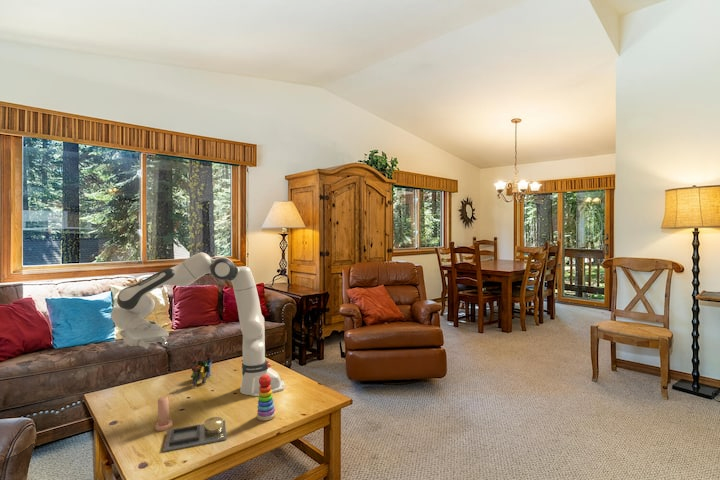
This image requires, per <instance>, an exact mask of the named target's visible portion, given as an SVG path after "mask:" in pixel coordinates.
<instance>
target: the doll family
mask: <svg viewBox="0 0 720 480" xmlns="http://www.w3.org/2000/svg"><path fill="white" fill-rule="evenodd" d="M213 355H214V353H212V352H207V353H206V357H207V359H206V361H205V360H197V365H192V367H191V371H192V374H191V375H190V378H192V385H191V389H197V388H198V382H201V383H200V386H205V385H206V384H207V383H208V381H207V379H208V378H210V377H211V376H212V371H211V369H212V363H213V362H214V361H213V359H212V357H213Z"/></svg>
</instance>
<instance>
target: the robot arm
mask: <svg viewBox="0 0 720 480" xmlns="http://www.w3.org/2000/svg"><path fill="white" fill-rule="evenodd" d="M207 274H211V275H212V276H213V277H214V278H215V279H217V280H218V281H219V280H220V281H231V284H232V289H233V293H234V298H235V303H236V306H237V312H238V313H237V315H238V320H239V325H240V330H241V333H242V348H241V349H242V363H241V374H242V376H241V377H242V378H241V385H240V389H239V392H240V393H241V394H243V395H246V396H252V397H259V392H260V390H259V387H260V386H261V385H260V384H259V378H260V377H261V376H262V375H268V376H270V378H271V382H270V384H269V385H270V386H271V390H272V394H273V393H277V392H280V391H284V390H285V389H286V384H285V382H284V380H282V379H281V375H280V374H279V372H278V371H276V370H274V369H273V368H271V367H272V364H271V363H270V361H268V360H267V359H266V344H265V341H266V337H265V335H266V334H265V333H266V331H265V328H266V327H265V322H266V321H265V317H264V315H263V314H262V309H261V304H260V303H261V302H260V297H259V294H258V289H257V285H256V280H255V277H254V275H253V273H252V270H251V268H250V267H248V266H244V265H243V266H241V265H240V266H236V265H235V264H234V262H233V261H232V259H230V258H228V257H226V256H220V257H211V256H210V255H209V254H207V253H205V252H203V251H202V252H201V251H200V252H198V253H195V254H194V255H191V256H190V257H188V258H186V259H185V260H183V261H182V262H180V263H178V264H177V265H174V266H172V267H170V268H164V269H162V270H160V271H158V272H156V273H153V274H152V275H149V276H148V277H147V278H145V279H143V280H141V281H139V282H138V283H135V284H132V285H129V286H127V287H125V288H123V289H122V290H120V292H119V293H118V295H117V300H116V302H117V305H116V306H115V307H113V309H112V310H111V313H110V317H111V321H112V322H113V323H114V324H115V325H116V326H117V328H119V329H120V331H119V335H120V336H121V338H122V340H123V341H124V343H125V344H127V346H130V347H134V346H140V347H142V348H144V349H146V350H148V349H151V346H152V345H151V344H154V343H161V345H162V346H163V347H167V346H168V345H169V342H168V339H169V336H170V334H169V332H168V331H167V330H166V329H165V328H163V327H162V326H161V325H159V323H158V322H157V321H151V320H147V319H146V318H148V316H150V315H151V314H152V313H153V312H154V310H155V307H156V300H155V299H154V298H152V297H151V296H149V295H148V294H149V293H150V292H152V291H154V290H156V289H158V288H160V287H162V286H166V285H167V286H168V285H170V286H177V287H187V286H189V285H192V284H193V283H194V282H196V281H197V280H199V279H200V278H202V277H204V276H205V275H207Z"/></svg>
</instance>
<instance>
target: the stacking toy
mask: <svg viewBox="0 0 720 480" xmlns="http://www.w3.org/2000/svg"><path fill="white" fill-rule="evenodd" d="M270 382H271V378H270V376H268V375H262V376H261V377H260V378H259V384H260V385H261V386H260V387H259V390H260V392H259V396H257V398H258V401H257V404H258V405H257V413H256V418H257V420H259V421H270V420H272V419H274V418H275V416H276V407H275V403H274V398H273V393H272V390H271V386H270V385H269V384H270Z"/></svg>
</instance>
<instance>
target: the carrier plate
mask: <svg viewBox="0 0 720 480" xmlns="http://www.w3.org/2000/svg"><path fill="white" fill-rule="evenodd" d="M226 428H227V427H226V420H224V419H223V417H220V416H213V417H209V418H207V419H206V420H205V421H204V422H203V423H201V424H195V425H194V424H193V425H188V426H184V427H183V426H182V427H177V428H176V427H175V428H172V429H168V430H166V431H167V432H166V434H165V435H166V436H165V440H164V444H163V448H162V449H163V450H162V451H163V452H170V451H174V450H180V449H185V448H190V447H197V446H201V445H206V444H211V443H217V442H222V441H226V440H227V433H226V432H227V430H226Z"/></svg>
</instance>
